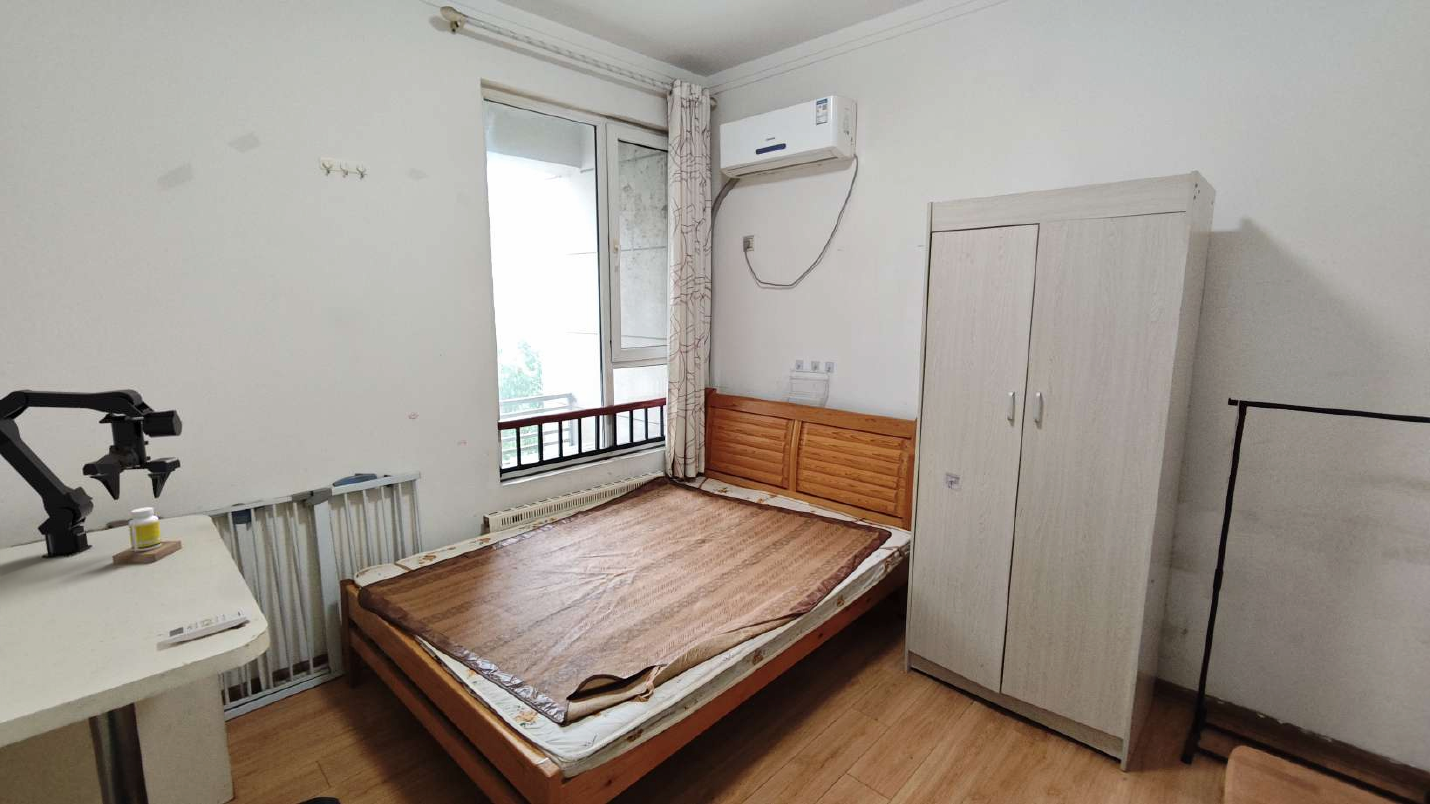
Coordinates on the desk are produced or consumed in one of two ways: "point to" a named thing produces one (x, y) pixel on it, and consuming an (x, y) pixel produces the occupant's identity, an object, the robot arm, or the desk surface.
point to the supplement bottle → (144, 530)
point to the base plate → (147, 553)
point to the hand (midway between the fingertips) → (136, 498)
